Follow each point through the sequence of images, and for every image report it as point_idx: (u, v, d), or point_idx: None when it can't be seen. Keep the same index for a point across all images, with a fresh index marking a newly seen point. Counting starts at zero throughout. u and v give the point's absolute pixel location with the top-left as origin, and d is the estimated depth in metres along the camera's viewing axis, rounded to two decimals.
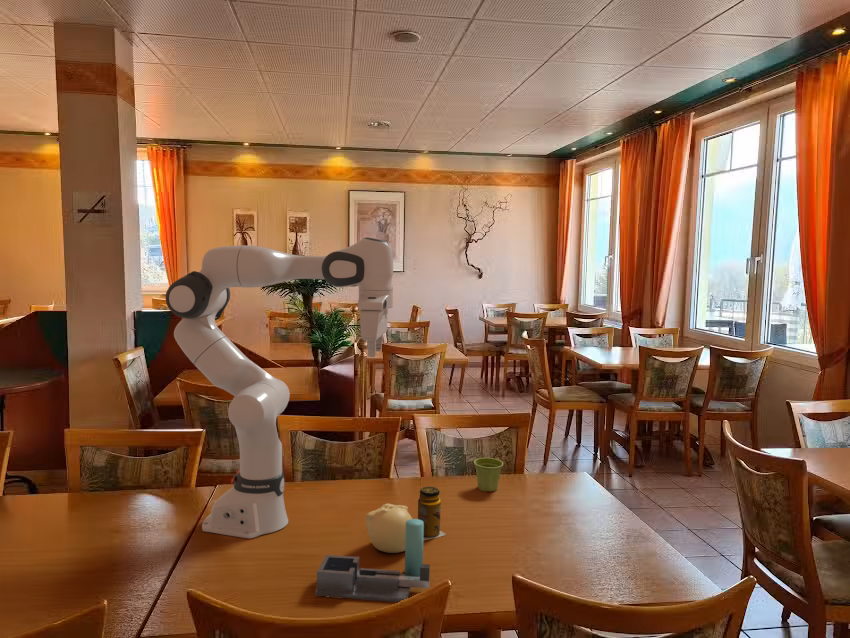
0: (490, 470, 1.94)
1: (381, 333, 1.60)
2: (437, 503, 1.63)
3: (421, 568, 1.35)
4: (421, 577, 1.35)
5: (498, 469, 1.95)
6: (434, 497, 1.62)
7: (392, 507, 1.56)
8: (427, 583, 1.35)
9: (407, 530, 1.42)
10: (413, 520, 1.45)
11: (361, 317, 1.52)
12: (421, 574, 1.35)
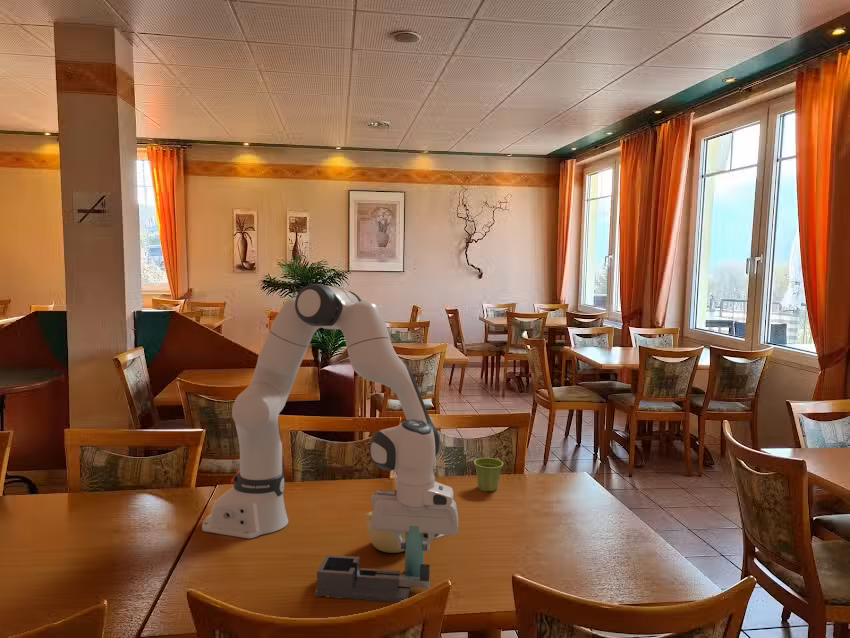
0: (490, 470, 1.94)
1: None
2: None
3: (421, 568, 1.35)
4: (421, 577, 1.35)
5: (498, 469, 1.95)
6: None
7: None
8: (427, 583, 1.35)
9: None
10: None
11: (455, 511, 1.40)
12: (421, 574, 1.35)
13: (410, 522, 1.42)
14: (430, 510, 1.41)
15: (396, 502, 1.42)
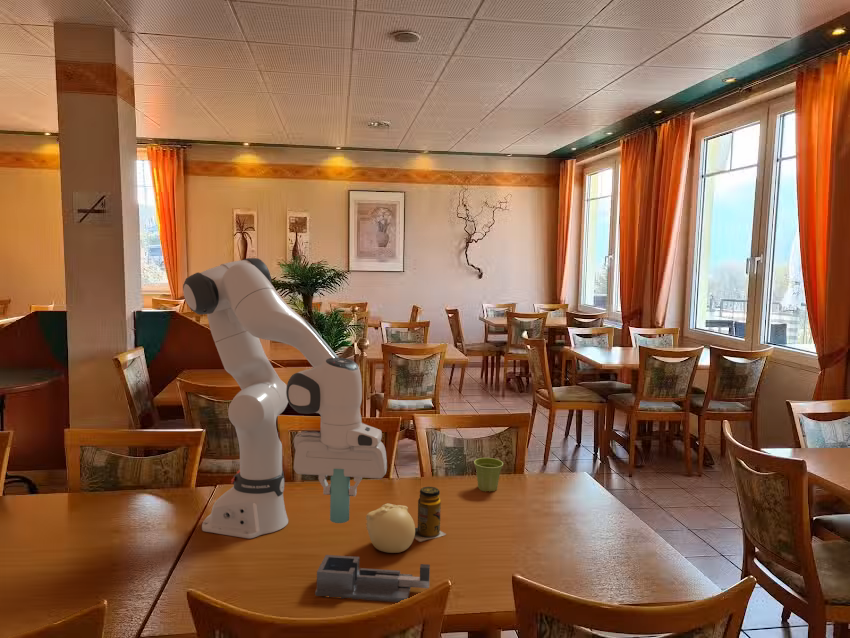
0: (490, 470, 1.94)
1: None
2: (437, 502, 1.63)
3: (421, 568, 1.35)
4: (421, 577, 1.35)
5: (498, 469, 1.95)
6: (434, 497, 1.62)
7: (392, 507, 1.56)
8: (427, 583, 1.35)
9: None
10: None
11: (382, 453, 1.33)
12: (421, 574, 1.35)
13: (335, 465, 1.34)
14: (355, 452, 1.33)
15: (320, 444, 1.34)
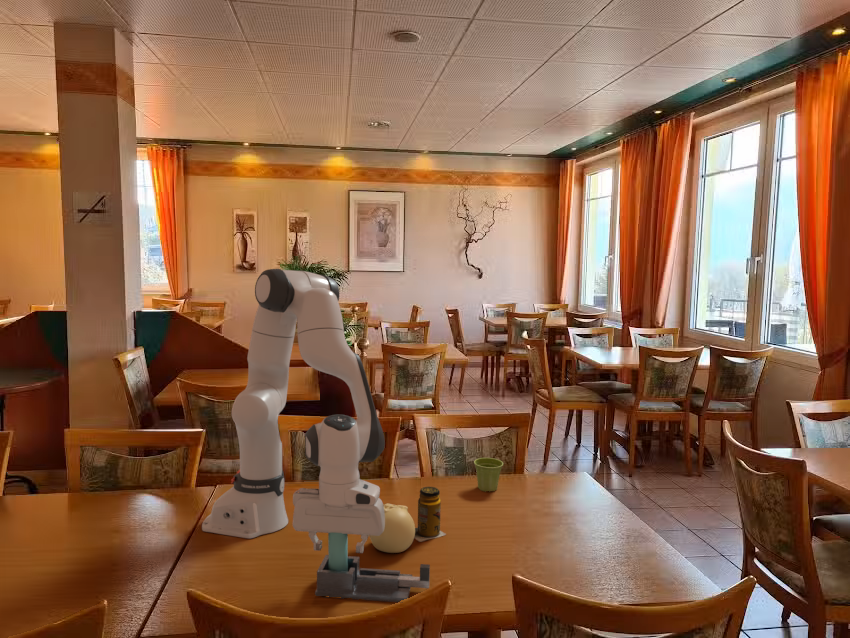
0: (490, 470, 1.94)
1: None
2: (437, 503, 1.63)
3: (421, 568, 1.35)
4: (421, 577, 1.35)
5: (498, 469, 1.95)
6: (434, 497, 1.62)
7: (392, 507, 1.56)
8: (427, 583, 1.35)
9: (329, 537, 1.36)
10: None
11: (380, 511, 1.34)
12: (421, 574, 1.35)
13: (333, 522, 1.35)
14: (354, 510, 1.34)
15: (318, 501, 1.35)
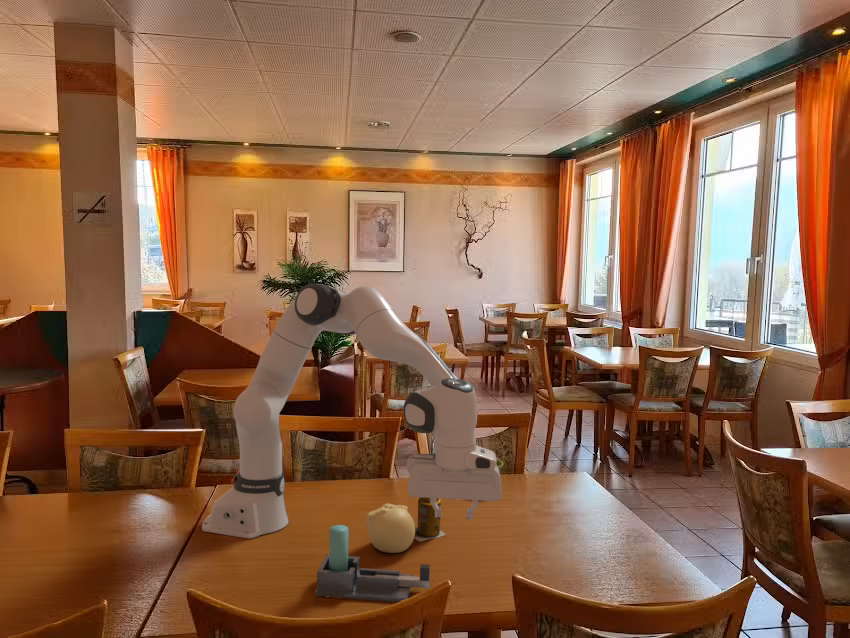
0: None
1: None
2: (437, 503, 1.63)
3: (421, 568, 1.35)
4: (421, 577, 1.35)
5: None
6: None
7: (392, 507, 1.56)
8: (427, 583, 1.35)
9: (330, 537, 1.36)
10: (338, 526, 1.38)
11: (499, 476, 1.31)
12: (421, 574, 1.35)
13: (450, 488, 1.32)
14: (472, 475, 1.31)
15: (435, 466, 1.32)
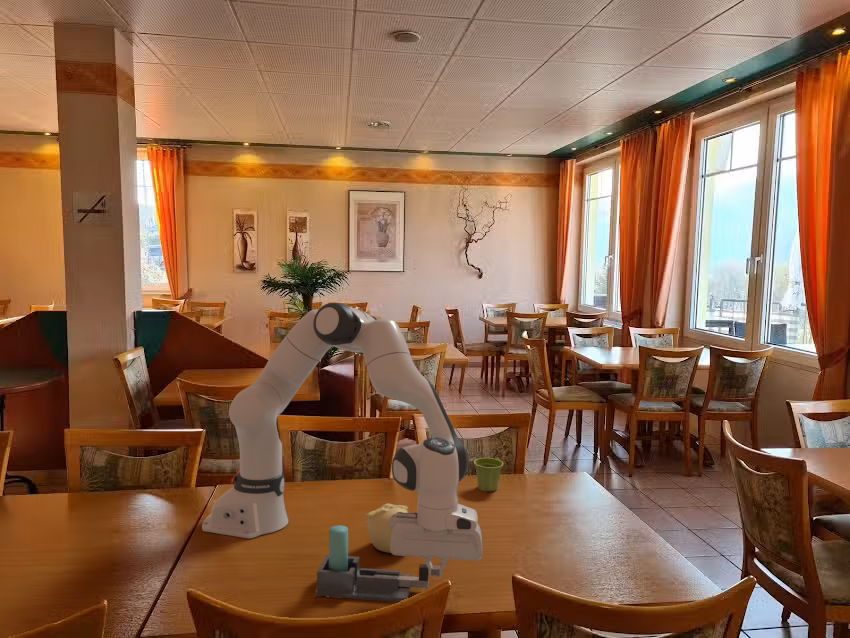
0: (490, 470, 1.94)
1: None
2: None
3: (420, 568, 1.35)
4: (420, 577, 1.35)
5: (498, 469, 1.95)
6: None
7: (392, 507, 1.56)
8: (426, 583, 1.35)
9: (330, 538, 1.35)
10: (337, 527, 1.38)
11: (480, 536, 1.32)
12: (420, 574, 1.35)
13: (432, 547, 1.33)
14: (453, 534, 1.33)
15: (417, 526, 1.33)
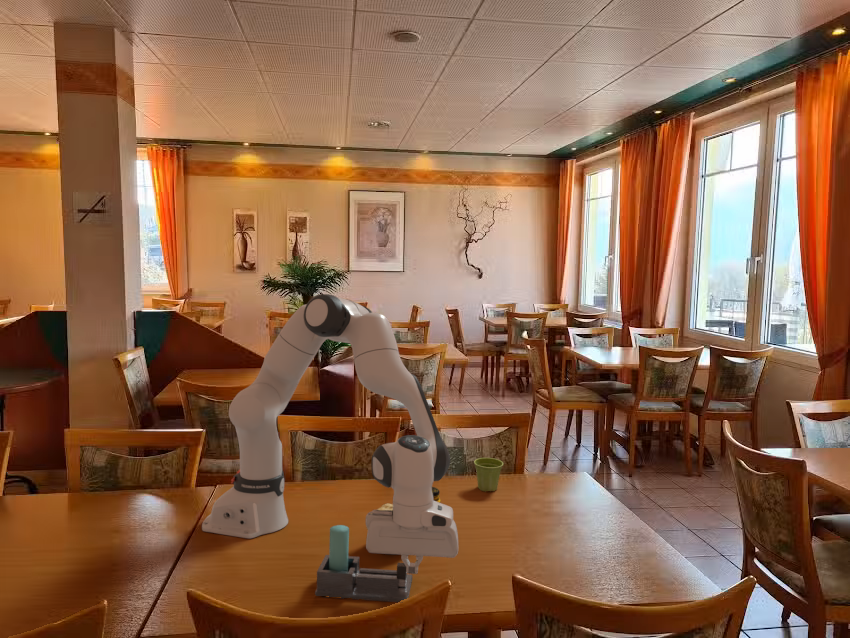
0: (490, 470, 1.94)
1: None
2: None
3: (398, 567, 1.36)
4: (398, 576, 1.36)
5: (498, 469, 1.95)
6: (434, 497, 1.62)
7: (392, 507, 1.56)
8: (404, 581, 1.36)
9: (331, 537, 1.36)
10: (338, 526, 1.38)
11: (455, 533, 1.33)
12: (398, 573, 1.36)
13: (408, 544, 1.34)
14: (428, 531, 1.33)
15: (393, 523, 1.34)
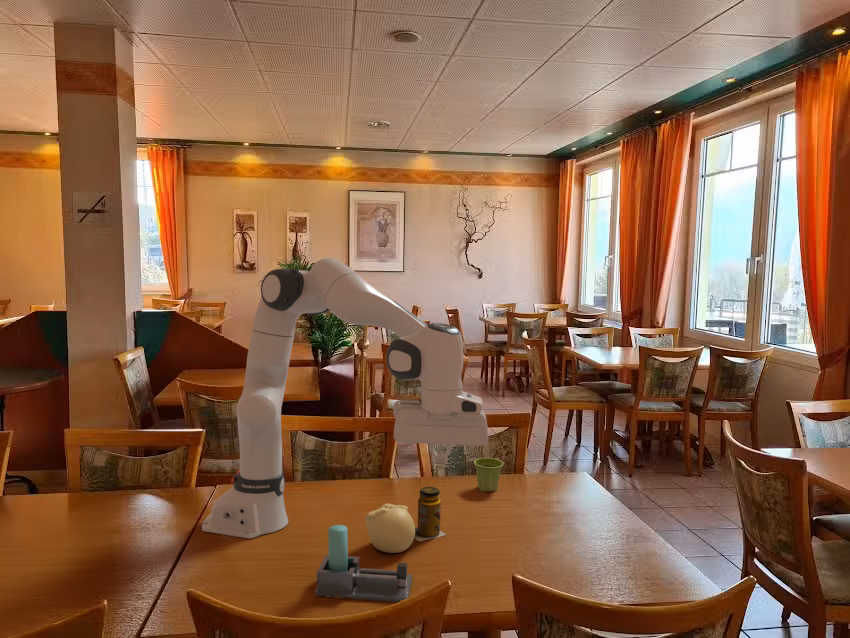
0: (490, 470, 1.94)
1: None
2: (437, 502, 1.63)
3: (398, 567, 1.36)
4: (398, 576, 1.36)
5: (498, 469, 1.95)
6: (434, 497, 1.62)
7: (392, 507, 1.56)
8: (404, 582, 1.36)
9: (329, 537, 1.36)
10: (337, 526, 1.38)
11: (485, 420, 1.30)
12: (398, 573, 1.36)
13: (436, 433, 1.31)
14: (458, 419, 1.30)
15: (421, 411, 1.31)
